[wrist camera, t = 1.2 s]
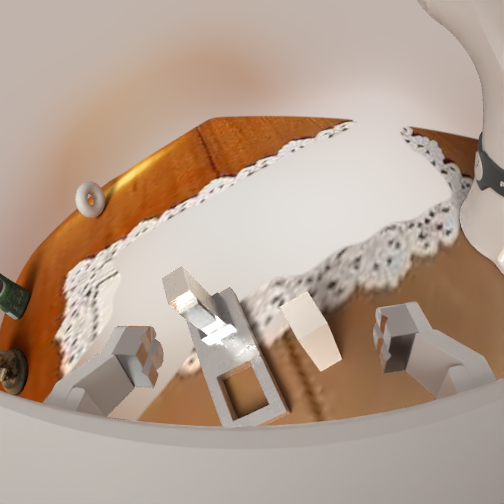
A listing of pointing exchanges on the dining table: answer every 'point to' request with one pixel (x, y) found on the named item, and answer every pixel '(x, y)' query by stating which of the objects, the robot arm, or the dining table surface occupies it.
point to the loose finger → (311, 330)
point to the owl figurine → (13, 370)
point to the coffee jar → (12, 298)
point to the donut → (82, 200)
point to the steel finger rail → (224, 346)
